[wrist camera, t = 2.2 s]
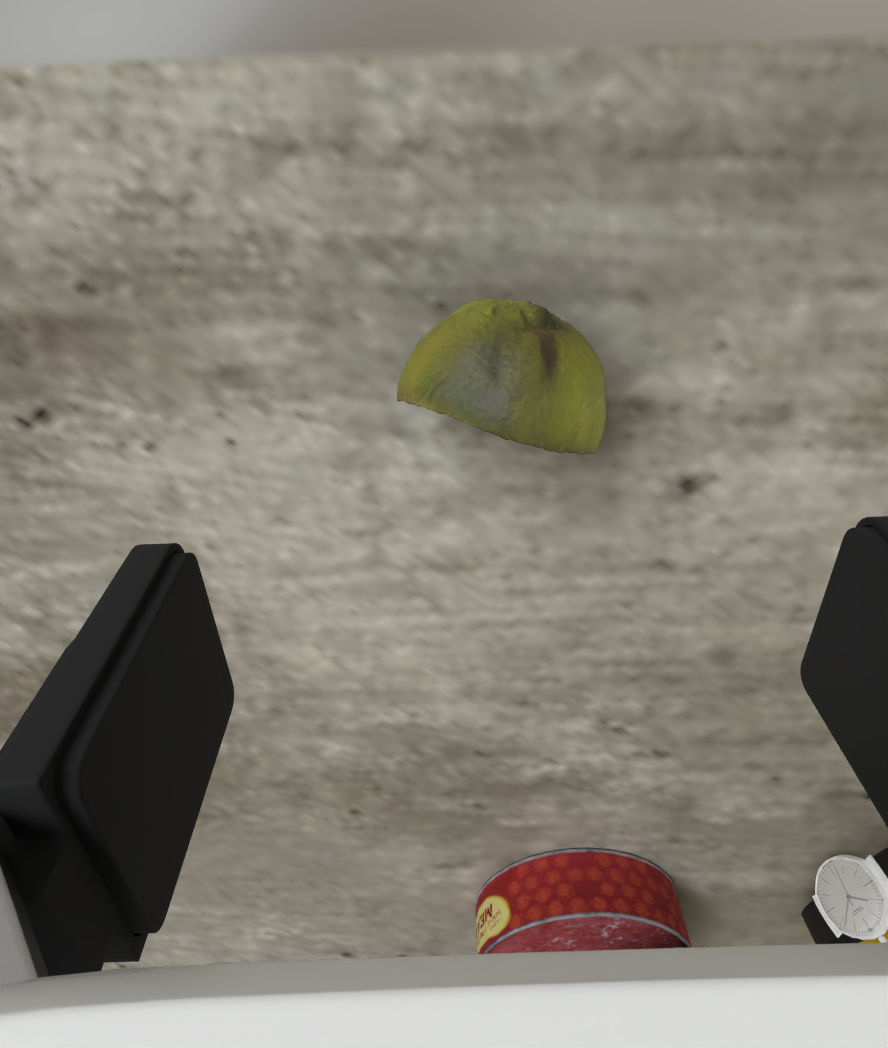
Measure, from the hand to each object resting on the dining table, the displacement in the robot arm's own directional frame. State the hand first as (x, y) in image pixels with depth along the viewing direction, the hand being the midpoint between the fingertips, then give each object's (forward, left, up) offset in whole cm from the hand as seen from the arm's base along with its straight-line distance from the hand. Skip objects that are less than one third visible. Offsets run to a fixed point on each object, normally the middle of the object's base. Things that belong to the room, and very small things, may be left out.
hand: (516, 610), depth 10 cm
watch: (+25, +17, -10) cm, 32 cm away
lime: (0, 0, -10) cm, 10 cm away
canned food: (+28, +4, -10) cm, 30 cm away
